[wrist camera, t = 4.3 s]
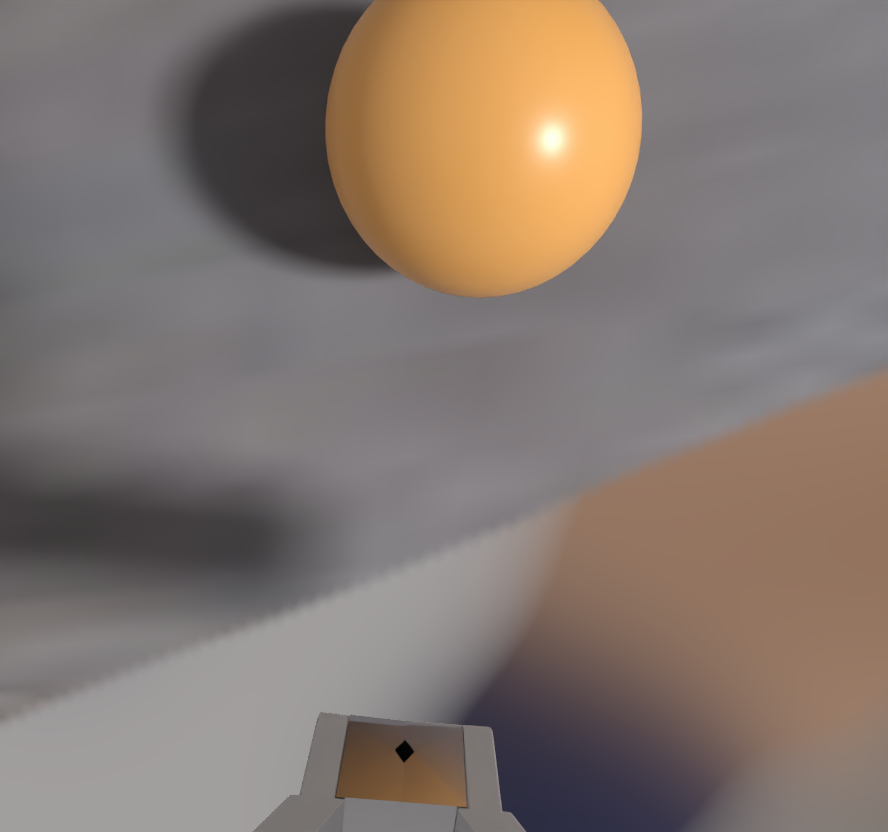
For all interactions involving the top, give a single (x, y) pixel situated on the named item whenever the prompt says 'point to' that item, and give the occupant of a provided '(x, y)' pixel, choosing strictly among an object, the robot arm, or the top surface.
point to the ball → (483, 137)
